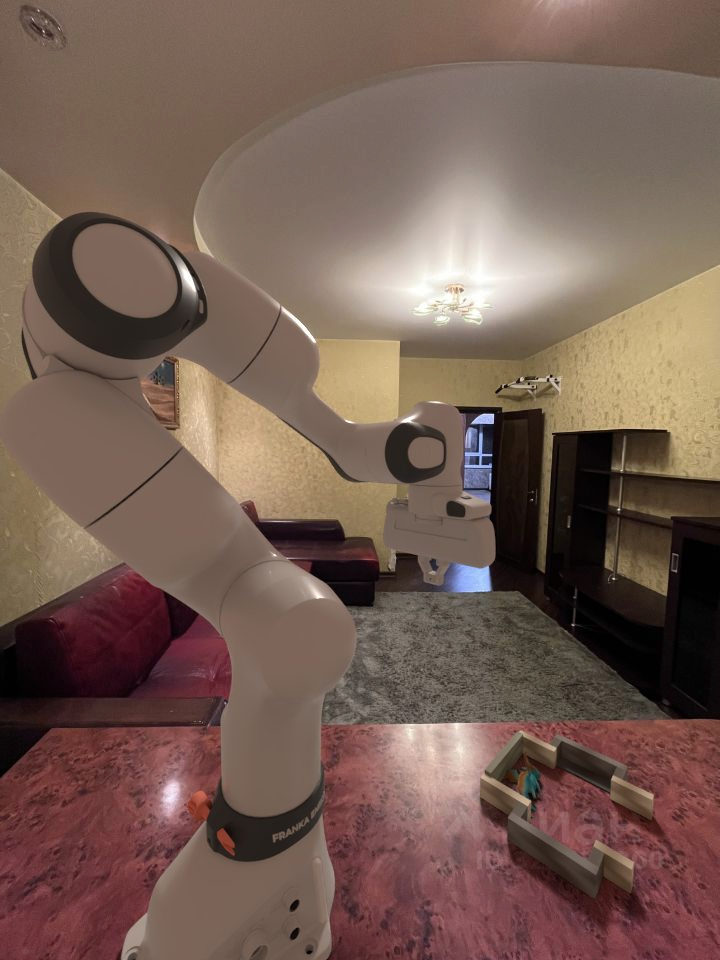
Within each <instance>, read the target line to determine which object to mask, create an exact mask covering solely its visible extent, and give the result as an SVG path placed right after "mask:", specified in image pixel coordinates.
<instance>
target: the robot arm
mask: <svg viewBox="0 0 720 960" xmlns="http://www.w3.org/2000/svg"><path fill="white" fill-rule="evenodd" d="M33 255H34V256H33V258H32V259H33V260H32V264H31V265H32V266H31V268H32V269H31V274H30V278H29V281H28V283H27V284H26V286H25V289H24V291H23V295H22V298H21V299H22V300H21V314H20V315H21V325H22V326H21V335H20V336H21V346H22V351H23V355H24V358H25V360H26V363H27V367H28V370H29V373H30V376H31V379H32V380H30V381H29V382H28V383H26V384H24V385H23V386H21V387H20V388H18V390H17V391H15V393H13V394H12V396H11V397H10V398H9V399H8V400H7V402H6V403H5V405H4V407H3V408H2V410H1V413H0V442H1V445H2V446H3V448H4V449H5V450H6V451H7V453H8V454H9V455H10V456H11V458H12V459H13V460H14V461H15V463H16V464H17V465H18V466H19V468H20V469H21V470H22V471H23V472H24V473H25V475H26V476H27V477H29V479H30V480H31V481H32V482H33V484H34V485H36V487H38V489H39V490H40V491H41V492H42V493H43V494H44V495H45V496H46V497H47V498H48V499H49V500H50V501H52V503H53V504H54V505H55V506H57V507H58V509H60V510H61V511H62V512H63V513H64V514H65V515H67V517H68V518H70V519H71V520H72V521H73V522H75V523H76V524H77V525H78V526H79V527H80V528H83V530H84V531H85V532H86V533H88V534H89V535H90V536H91V537H93V538H94V539H95V540H97V542H98V543H100V544H101V545H103V546H104V548H106V549H107V550H109V551H110V552H111V553H112V554H114V555H115V556H116V557H117V558H118V559H120V560H121V561H122V562H123V563H125V564H126V566H128V567H129V568H130V569H132V570H133V571H134V572H136V574H138V575H140V577H142V578H143V579H144V580H145V581H146V582H148V583H149V584H150V585H152V586H153V587H155V588H158V589H161V590H162V591H164V592H165V593H167V594H169V595H170V596H172V597H174V598H175V599H177V600H178V601H180V602H182V604H184V605H186V606H187V607H189V608H191V610H193V611H195V612H196V613H197V614H199V615H200V616H201V617H203V618H204V619H205V620H207V622H209V624H210V625H211V626H212V627H213V628H214V629H215V630H216V631H217V632H218V634H219V635H220V636H221V637H222V639H223V640H224V642H225V643H226V644H225V645H226V647H227V650H228V654H229V658H230V662H231V663H230V664H231V685H230V692H229V697H228V702H227V703H226V705H225V707H224V709H223V711H222V713H221V716H220V759H221V761H220V762H221V763H220V765H221V766H220V768H221V771H220V772H221V775H220V777H219V781H218V783H217V786H216V787H215V792H214V795H213V798H212V799H211V800H212V801H211V800H210V799H209V798H208V797H207V794H206V793H205V792H204V791H203V790H199V791H196V792H195V793H193V794H192V795H191V797H190V798H189V800H188V801H187V805H186V806H187V807H186V808H187V811H188V812H189V813H190V814H191V815H193V819H194V820H195V821H196V822H200V821H203V820H204V822H203V823H202V824H201V825H200V826H199V827H198V829H197V830H196V831H195V832H194V834H193V836H192V837H191V838H190V839H189V840H188V841H187V843H186V845H185V846H184V847H183V848H182V849H181V851H180V852H179V853H178V855H176V857H175V858H174V860H172V862H171V863H170V865H169V866H168V867H167V868H166V869H165V870H164V872H163V873H162V874H161V875H160V877H159V878H158V879H157V881H156V883H155V885H154V887H153V889H152V893H151V896H150V900H149V904H148V907H147V912H146V913H145V914H143V916H142V917H140V918H139V919H138V920H137V921H136V922H135V923H134V924H133V925H132V926H131V927H130V928H129V930H128V931H127V933H126V936H125V937H124V942H123V946H122V950H121V954H120V960H327V959H328V958H329V956H330V955H331V953H332V945H333V944H332V943H333V941H332V931H331V923H330V922H331V920H330V917H331V911H332V907H333V904H334V899H335V890H336V880H335V878H336V877H335V871H334V867H333V864H332V860H331V858H330V855H329V852H328V848H327V847H328V846H327V842H326V836H325V834H326V833H325V828H324V819H323V812H324V807H325V803H326V802H325V801H326V799H325V798H326V791H325V788H326V787H325V784H326V783H325V767H324V764H323V760H322V758H321V757H322V754H321V753H322V744H321V743H322V715H323V713H322V712H323V706H324V700H325V697H326V694H327V693H328V692H330V691H331V690H333V688H334V687H336V685H338V683H339V682H341V680H342V679H343V678H344V677H345V675H346V673H347V672H348V670H349V668H350V666H351V664H352V663H353V659H354V657H355V653H356V649H357V639H358V638H357V637H358V636H357V633H358V632H357V627H356V623H355V621H354V618H353V616H352V614H351V612H350V611H349V609H348V608H347V606H346V605H345V604H344V602H343V601H342V600H341V598H339V596H338V595H337V594H336V593H335V591H334V590H333V589H332V588H331V587H330V586H329V585H328V584H327V583H325V582H324V581H323V580H321V579H320V578H318V577H316V576H314V575H313V574H311V573H309V572H308V571H306V570H305V569H303V568H301V567H300V566H299V565H297V564H295V563H294V562H292V561H291V560H290V559H289V558H287V557H286V556H284V555H283V554H282V553H281V552H280V551H279V550H277V549H276V548H275V547H274V546H273V545H272V544H271V542H270V541H269V540H268V539H267V538H266V537H265V535H264V534H263V533H262V532H261V531H260V529H259V528H258V527H257V526H256V525H255V523H254V522H253V520H251V518H250V517H249V516H248V514H247V512H246V511H245V510H244V509H243V508H242V506H241V504H240V503H239V502H238V500H237V499H236V498H234V496H233V495H231V494H230V492H229V491H228V490H227V489H226V488H225V487H224V485H222V484H221V483H220V482H219V481H218V480H217V479H216V478H215V477H214V476H213V474H211V472H209V471H208V469H207V468H206V467H205V466H203V464H202V463H201V462H200V461H199V460H198V459H197V458H196V457H195V456H194V455H193V453H192V452H190V451H189V449H187V448H186V446H184V445H183V443H182V442H180V440H178V439H177V437H175V436H174V434H172V433H171V432H170V431H169V430H168V429H167V428H166V427H165V426H164V425H163V424H161V422H159V420H157V416H156V415H155V413H154V412H153V411H152V410H151V408H150V406H149V404H148V402H147V400H146V399H145V396H144V393H143V390H142V379H144V378H147V377H148V376H149V375H151V374H152V373H153V372H154V371H155V370H156V369H157V368H158V367H159V366H160V365H161V363H163V361H164V360H165V358H167V357H168V358H169V357H174V358H180V359H183V360H187V361H189V362H192V363H194V364H197V365H199V366H201V367H203V368H204V369H205V370H206V371H208V372H209V373H210V374H211V375H213V376H215V377H216V378H217V379H219V380H220V381H222V382H223V383H224V384H226V385H228V386H229V387H230V388H232V389H234V390H236V391H237V392H239V393H240V394H241V395H243V396H245V397H247V398H248V399H250V400H251V401H253V402H254V403H256V404H258V405H259V406H261V407H263V408H265V409H266V410H267V411H269V412H270V413H271V414H273V415H274V416H275V417H277V418H278V419H279V420H281V421H282V422H283V424H286V425H287V426H288V427H290V428H291V429H292V430H294V431H295V432H296V433H297V434H299V435H300V436H302V437H303V438H304V439H305V440H307V441H309V443H311V445H313V446H314V447H316V448H317V449H318V450H320V451H321V452H322V453H323V454H324V456H325V457H326V458H327V460H328V461H329V463H330V464H331V465H332V468H333V469H334V470H335V471H336V473H337V474H338V475H339V476H340V477H342V479H344V480H345V481H348V482H351V483H357V484H358V483H375V484H376V483H377V484H387V485H389V484H390V485H398V486H399V485H401V486H402V485H403V486H404V485H405V486H406V485H407V486H408V490H407V493H408V495H407V496H408V497H407V498H400V497H393V498H392V499H390V500H389V501H388V503H386V506H385V518H384V524H383V532H382V543H383V545H384V547H385V548H386V549H388V550H393V551H397V552H402V553H406V554H412V555H414V556H415V555H416V556H417V562H418V564H419V567H420V569H421V571H422V572H423V582H424V583H428V584H431V585H435V586H438V587H439V586H442V585H444V581H445V574H446V572H447V570H449V567H450V565H451V563H452V564H457V565H462V566H466V567H471V568H476V569H484V568H487V567H489V566H491V565H493V562H494V561H495V559H496V536H495V535H496V534H495V528H494V524H493V522H492V521H491V519H489V518H488V516H490V515H491V514H492V505H491V503H490V502H489V501H487V500H485V499H482V498H479V497H477V496H475V495H472V494H471V493H468V492H466V491H464V490H463V478H462V475H461V474H462V473H461V468H462V463H463V460H464V432H463V424H462V423H463V422H462V417H461V413H460V411H459V409H458V408H456V406H454V405H453V404H450V403H448V402H442V401H435V400H431V401H430V400H428V401H427V400H426V401H420V402H417V403H416V404H414V406H413V408H412V409H411V410H410V411H408V412H407V413H406V414H404V415H402V416H400V417H397V418H395V419H393V420H389V421H383V422H370V423H361V422H354V421H350V420H347V419H345V418H344V417H342V415H340V414H339V413H338V412H337V411H335V409H334V408H332V407H331V406H330V405H329V404H328V403H327V402H325V400H323V399H322V398H321V396H319V395H318V394H317V393H316V392H315V391H314V389H313V387H314V385H315V383H316V380H317V378H318V376H319V371H320V359H321V358H320V351H319V348H318V347H319V345H318V342H317V341H316V339H315V338H314V336H313V335H312V334H311V333H310V331H309V330H308V329H307V327H306V326H305V325H304V323H302V322H301V321H300V320H299V319H298V318H296V316H295V315H293V313H291V312H290V311H289V310H288V309H287V308H285V307H284V306H283V305H282V304H280V303H279V302H278V301H277V300H275V299H274V298H273V297H272V296H271V295H270V294H268V293H267V292H266V291H264V289H262V288H260V287H259V286H258V285H257V284H255V283H254V282H252V281H251V280H249V278H247V277H245V276H244V275H243V274H241V273H240V272H238V271H236V270H234V269H233V268H231V267H230V266H228V265H227V264H226V263H223V262H222V261H220V260H218V259H217V258H215V257H213V256H211V255H210V254H208V253H206V252H202V251H199V250H197V251H196V250H187V251H183V252H181V251H180V250H179V249H178V248H177V247H175V246H174V245H172V244H169V243H167V242H166V241H165V240H163V239H162V238H161V237H159V236H158V235H157V234H155V233H153V232H152V231H150V230H148V229H146V228H145V227H143V226H141V225H139V224H137V223H135V222H132V221H131V220H128V219H126V218H122V217H120V216H118V215H113V214H109V213H105V212H98V211H85V212H78V213H74V214H71V215H69V216H66V217H65V218H64V219H62V220H60V221H59V222H57V223H56V224H55V225H54V226H53V227H52V228H51V229H50V230H49V231H48V232H47V233H46V235H45V236H44V237H43V238H42V240H41V241H40V243H39V244H38V246H37V248H36V251H34V254H33ZM432 559H433V560H436V563H435V565H436V566H437V567H438V568H437V569H436V571H435V570H433V568H432V565H431V563H430V561H432ZM309 951H311V953H309V954H308V953H307V952H309Z"/></svg>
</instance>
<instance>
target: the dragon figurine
mask: <svg viewBox="0 0 720 960" xmlns="http://www.w3.org/2000/svg"><path fill="white" fill-rule="evenodd" d="M523 759H524V764H525V766H522V767H521V770H519V772H520V773H519V774H518V770H517V769H512V768H511V769H510V770H507V772H506V774H505V777H504V779H508V780H509V781H508V782H511V783H515V784H517V789H518V793H519V794H520V795H522V796H524V797H525V798H527V799H529V800H530V801H531V802H532V800H531V799H530V797H529V796H530V795H529V794H532V798H534V799H537V796H536V789H537V792H538V793H540V794H541V787H540V783H539V782H538V781H540V780H541V778H542V774H541V773H540V772H539V770H538V769H537V768H536V766H535V765H532V763H530V762H529V758H528V756H527V755H526V751H525V753H524V754H523ZM531 811H533V812H537V811H538V810H537V809H536V808H535V807H534V806H533V805H532V804H531ZM531 818H535V816H533V815H531Z"/></svg>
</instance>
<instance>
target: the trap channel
mask: <svg viewBox="0 0 720 960" xmlns="http://www.w3.org/2000/svg"><path fill="white" fill-rule="evenodd" d="M525 751H526V756H527V757H529V758H531V759H533V760H534V761H536V762H539V763H541V764H543V765H545V766H546V767H547V768H550V769H552V770H555V768H556V767H558V768H560V769H563V770H564V771H566V772H569V773H570V774H573V775H575V776H576V777H578V778H580V779H582V780H584V781H586V782H588V783H589V784H591V785H593V786H596V787H597V788H599V789H600V790H603V791H606V792H607V793H609V794H610V796H609V799H610V800H612V801H614V802H615V803H616V804H618V805H620V806H623V807H624V808H627V809H628V810H630V811H632V812H635V813H636V814H638V815H640V816H642V817H644V818H646V819H647V820H649V821H652V819H653V816H654V815H653V814H654V801H655V799H654V797H655V795H654V794H653V793H651V792H648V791H647V790H644V789H642V788H641V787H638V786H636V785H634V784H632V783H631V782H628V773H629V771H628V770H629V766H628V765H626V764H624V763H622V762H621V761H620V762H619V761H617V760H615V759H612V758H611V757H609V756H606V755H604V754H602V753H600V752H597V751H596V750H593V749H591V748H589V747H587V746H585V745H582V744H580V743H578V742H576V741H574V740H572V739H569V738H567V737H565V736H563V735H561V734H559V733H556V734H555V736H554V737H553V738H552V740H551V741H550V743H547V742H546V741H544V740H542V739H539V738H538V737H535V736H533V735H531V734H529V733H526V732H525V731H523V730H521V729H520V730H519V731H516V732H515V734H514V735H513V736H512V737H511V738H510V739H509V740H508V741H507V743H506V744H505V745H504V746H503V747H502V748H501V749H500V751H499V752H498V753H497V754H496V755H495V757H494V758H493V759H492V760H491V761H490V762H489V764H488V765H487V766H486V767H485V768H484V772H483V773H482V775H481V776H480V781H479V782H480V783H479V798H481V799H483V800H484V801H486V802H487V803H489V804H491V805H492V806H494V807H495V808H497V809H498V810H500V811H501V812H503V813H505V814H506V815H508V817H507V826H506V827H507V828H506V830H507V832H506V834H507V835H506V839H507V840H508V841H509V842H511V844H514V845H515V846H516V847H518V848H520V849H521V850H522V851H523V852H525V853H526V854H528V855H529V856H531V857H532V858H534V859H535V860H537V861H538V860H539V861H538V862H540V863H541V862H542V863H541V864H543V865H544V864H545V865H547V866H548V867H549V868H548V867H547V866H546V867H547V868H548V869H549V870H551V871H553V872H554V873H555V874H557V875H559V876H560V877H562V878H563V879H564V880H566V881H567V882H569V883H570V884H572V885H573V886H575V887H576V888H577V889H579V890H580V891H582V892H583V893H585V894H586V895H588V897H590V898H592V899H594V900H596V898H597V895H598V892H599V889H600V887H601V884H602V881H603V878H605V879H607V880H608V881H610V882H611V883H613V884H615V885H616V886H617V887H619V888H621V889H623V891H625V892H627V893H629V894H632V891H633V887H634V871H635V870H634V869H635V861H633V860H631V859H629V858H628V857H626V856H624V855H623V854H621V853H619V852H618V851H616V850H614V849H612V848H611V847H609V846H607V845H606V844H604V843H603V842H601V841H599V840H597V839H595V841H594V843H593V846H592V849H591V851H590V854H589V856H588V858H585V857H583V856H581V855H580V854H578V853H577V852H575V851H574V850H572V849H571V848H569V847H568V846H566V845H565V844H563V843H561V842H559V841H558V840H557V839H555V838H553V837H552V836H550V835H549V834H547V833H546V832H544V831H542V830H541V829H539V828H537V827H536V826H535V825H533V824H531V818H532V817H531V816H532V814H531V813H532V809H531V805H532V800H531V799H530V800H531V801H530V800H529V799H527V798H525V797H524V796H522V795H520V793H519V792H517V791H516V790H514V789H512V788H510V787H508V786H507V785H505V784H504V783H502V781H503V779H505V774H506V772H507V770H511V769H512V768H513V767H514V765H515V764H516V763H517V762H518V760H519V759H520V758H521V756H522V755H524V753H525ZM545 865H544V866H545Z"/></svg>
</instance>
